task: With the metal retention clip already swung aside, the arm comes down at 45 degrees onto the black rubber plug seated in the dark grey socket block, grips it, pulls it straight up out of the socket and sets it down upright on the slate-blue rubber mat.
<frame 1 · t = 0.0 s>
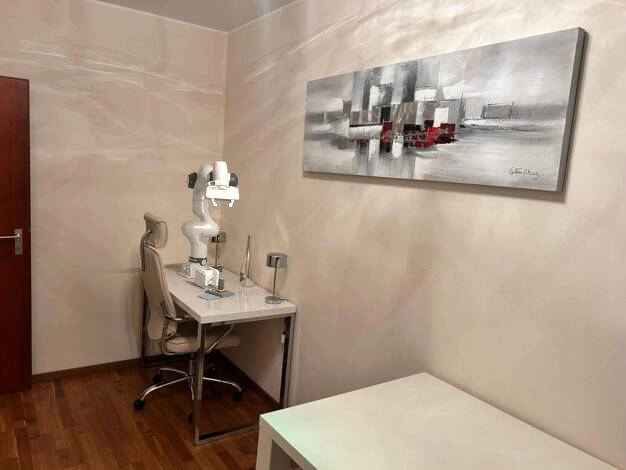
hand: (222, 207, 283), 54 cm above the table, tool tilted 30°, fingers open, 8 cm apart
mat: (208, 297, 289), on the table
plug: (220, 294, 298), resting in socket block
clip: (207, 286, 300), point 4 cm above the table, hinge at 153.0°
cable organizer: (206, 286, 314), on the table
socket block: (220, 294, 298), on the table
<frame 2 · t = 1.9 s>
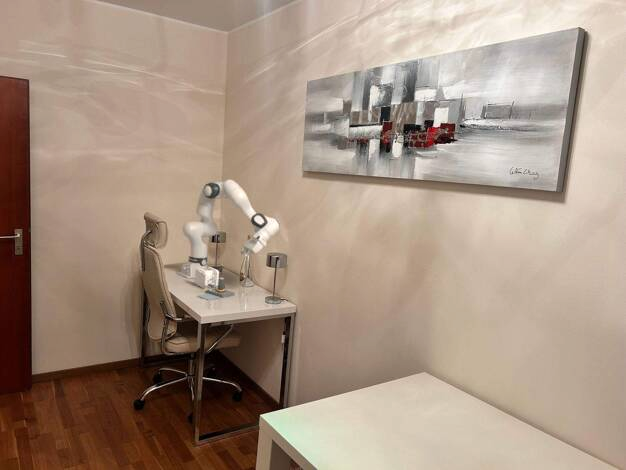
hand: (242, 254, 300), 25 cm above the table, tool tilted 45°, fingers open, 8 cm apart
nothing on the table moved.
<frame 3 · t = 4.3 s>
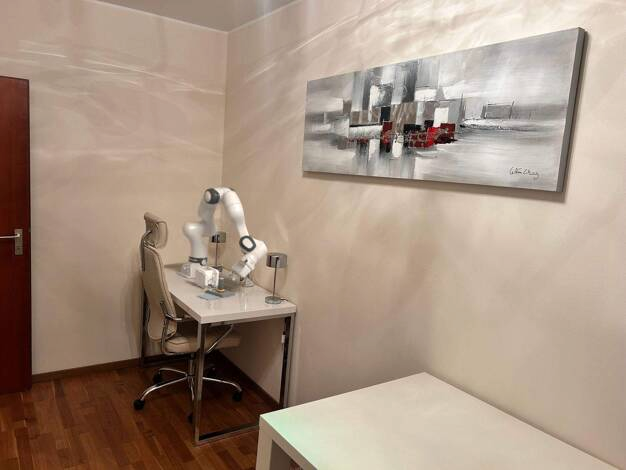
hand: (230, 278, 299), 10 cm above the table, tool tilted 45°, fingers open, 8 cm apart
nothing on the table moved.
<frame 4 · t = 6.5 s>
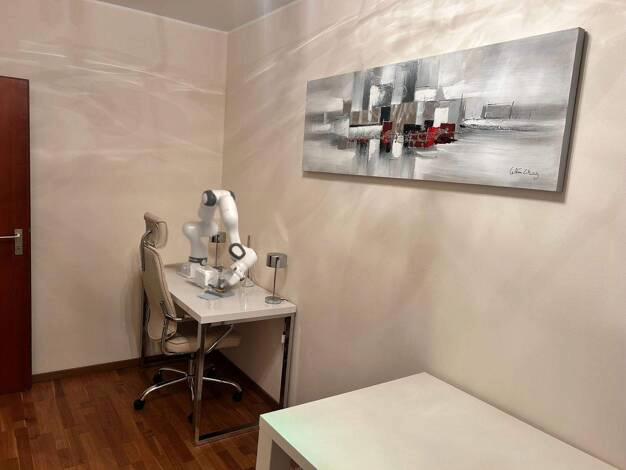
hand: (219, 285, 297), 5 cm above the table, tool tilted 45°, fingers closed on plug, 4 cm apart
plug: (220, 294, 298), resting in socket block, touching gripper
everything else where it was.
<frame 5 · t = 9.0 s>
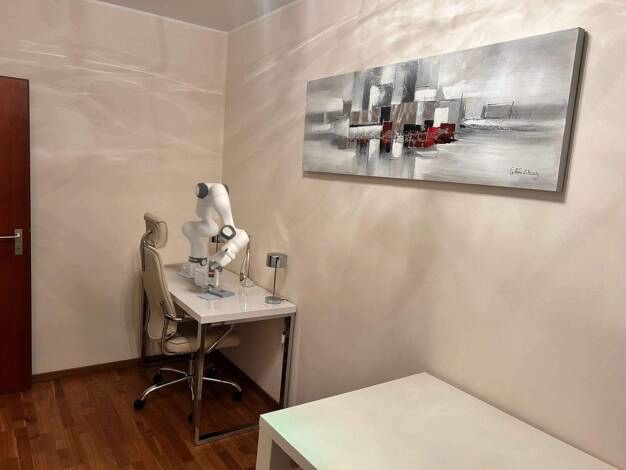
hand: (210, 267, 287), 18 cm above the table, tool tilted 45°, fingers closed on plug, 4 cm apart
plug: (211, 276, 288), point 12 cm above the table, touching gripper
everything else where it was.
when the fingers open (7 cm above the table, at t = 11.3 s): plug drops 1 cm, resting on mat.
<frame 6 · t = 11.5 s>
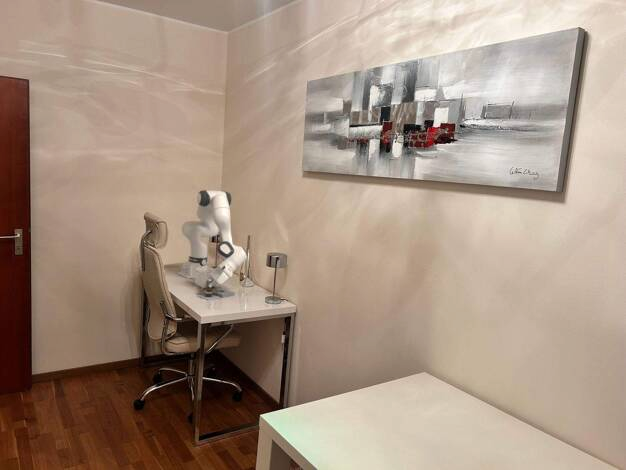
hand: (208, 285, 288), 7 cm above the table, tool tilted 45°, fingers open, 5 cm apart
plug: (208, 296, 289), point 1 cm above the table, touching mat
everything else where it was.
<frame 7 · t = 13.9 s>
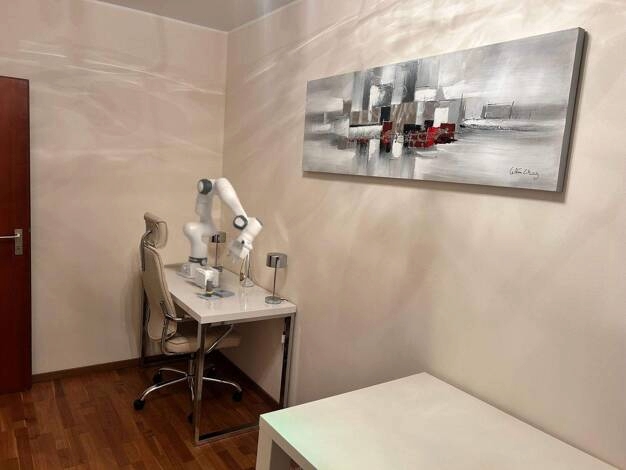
hand: (230, 259, 298), 22 cm above the table, tool tilted 35°, fingers open, 8 cm apart
nothing on the table moved.
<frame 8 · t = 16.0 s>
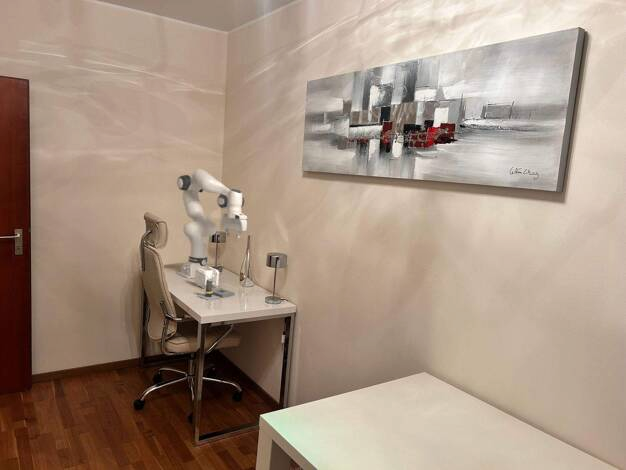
hand: (232, 236, 309), 34 cm above the table, tool pointing down, fingers open, 8 cm apart
nothing on the table moved.
at the end: plug inside the target area on the mat (0.1 cm from its centre), point 0.5 cm above the mat's base; plug tilted 1°; plug touching mat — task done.
